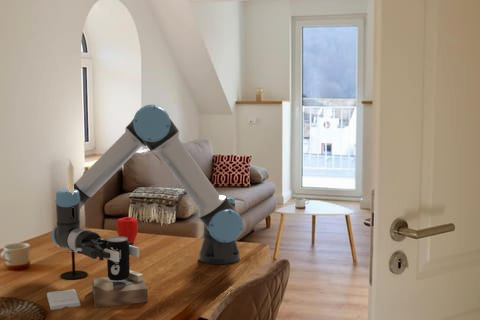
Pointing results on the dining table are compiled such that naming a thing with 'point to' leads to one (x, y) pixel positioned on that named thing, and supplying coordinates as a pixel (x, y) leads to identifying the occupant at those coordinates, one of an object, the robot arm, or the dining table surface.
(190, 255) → the dining table surface
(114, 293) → the block
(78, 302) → the external hard drive
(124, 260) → the beverage can
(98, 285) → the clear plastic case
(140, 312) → the dining table surface
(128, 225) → the red rounded piece
